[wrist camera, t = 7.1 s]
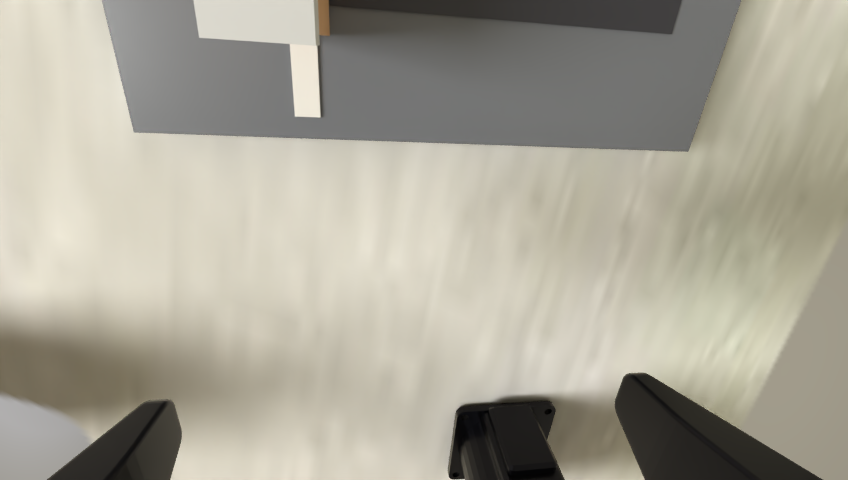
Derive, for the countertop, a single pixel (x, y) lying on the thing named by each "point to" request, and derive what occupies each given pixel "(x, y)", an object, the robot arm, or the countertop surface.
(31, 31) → the countertop surface
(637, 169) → the countertop surface
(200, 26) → the fader tab
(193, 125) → the console
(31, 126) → the countertop surface
